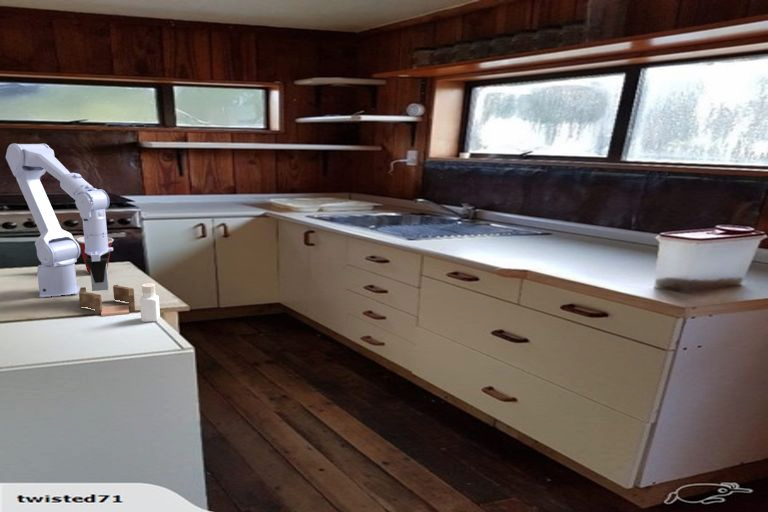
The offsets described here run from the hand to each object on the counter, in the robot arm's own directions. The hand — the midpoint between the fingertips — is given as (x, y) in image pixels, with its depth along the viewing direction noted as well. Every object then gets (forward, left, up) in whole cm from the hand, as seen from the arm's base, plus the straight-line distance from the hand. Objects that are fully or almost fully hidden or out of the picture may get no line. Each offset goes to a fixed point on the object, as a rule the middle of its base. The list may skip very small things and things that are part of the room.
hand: (99, 280), depth 146 cm
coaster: (+4, -12, -6) cm, 14 cm away
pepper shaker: (+12, -21, -6) cm, 25 cm away
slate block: (0, 0, -2) cm, 2 cm away
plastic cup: (-3, +32, -6) cm, 32 cm away
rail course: (+2, -7, -6) cm, 9 cm away
